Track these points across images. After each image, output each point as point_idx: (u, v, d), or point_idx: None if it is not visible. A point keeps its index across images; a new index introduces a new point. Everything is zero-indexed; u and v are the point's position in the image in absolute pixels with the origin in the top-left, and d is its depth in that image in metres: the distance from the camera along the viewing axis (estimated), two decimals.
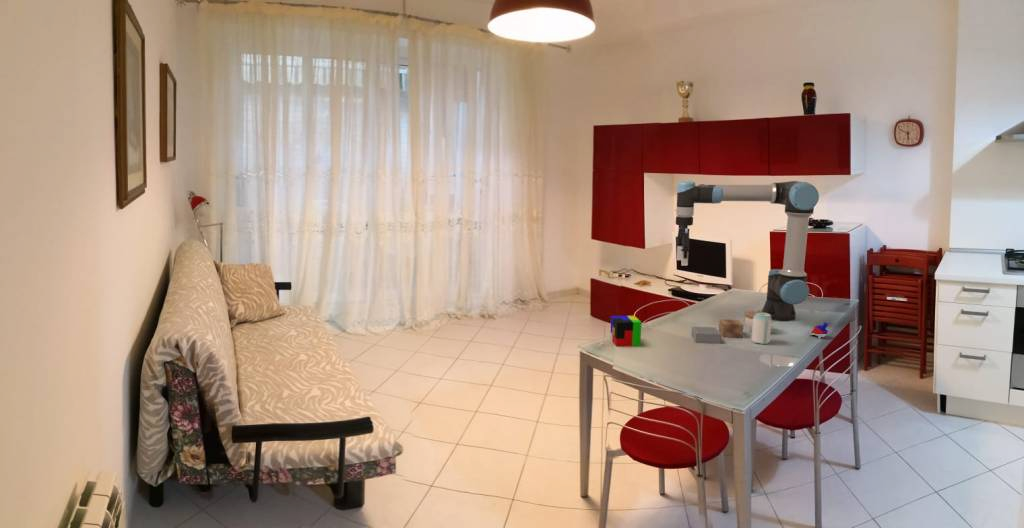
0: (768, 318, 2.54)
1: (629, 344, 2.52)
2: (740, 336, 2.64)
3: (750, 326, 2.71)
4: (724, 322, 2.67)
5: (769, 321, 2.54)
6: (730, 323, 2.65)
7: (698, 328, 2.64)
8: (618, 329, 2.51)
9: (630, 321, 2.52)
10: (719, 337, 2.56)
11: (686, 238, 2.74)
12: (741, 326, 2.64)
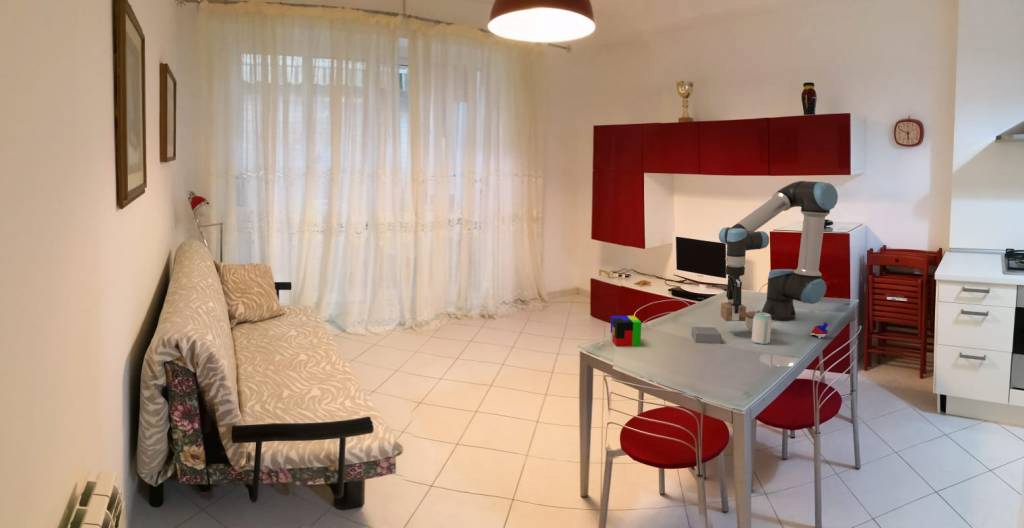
0: (768, 318, 2.54)
1: (629, 344, 2.52)
2: (743, 319, 2.63)
3: (750, 326, 2.71)
4: (726, 305, 2.66)
5: (769, 321, 2.54)
6: None
7: (698, 328, 2.64)
8: (618, 329, 2.51)
9: (630, 321, 2.52)
10: (719, 337, 2.56)
11: (738, 293, 2.58)
12: (744, 309, 2.63)
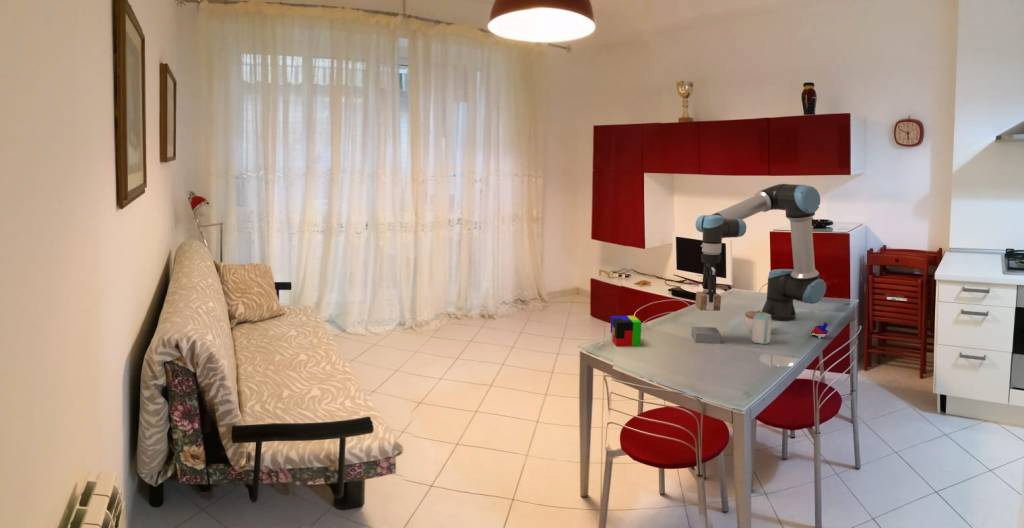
0: (768, 318, 2.54)
1: (629, 344, 2.52)
2: (718, 308, 2.55)
3: (750, 326, 2.71)
4: (701, 294, 2.58)
5: (769, 321, 2.54)
6: None
7: (698, 328, 2.64)
8: (618, 329, 2.51)
9: (630, 321, 2.52)
10: (719, 337, 2.56)
11: (713, 281, 2.50)
12: (719, 298, 2.54)
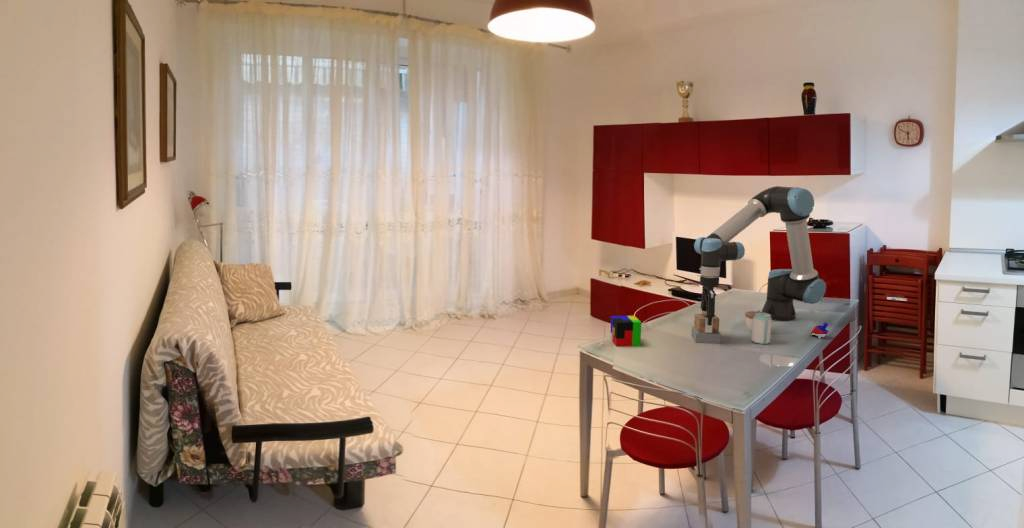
0: (768, 318, 2.54)
1: (629, 344, 2.52)
2: (716, 331, 2.57)
3: (750, 326, 2.71)
4: (699, 316, 2.60)
5: (769, 321, 2.54)
6: None
7: None
8: (618, 329, 2.51)
9: (630, 321, 2.52)
10: (719, 337, 2.56)
11: (711, 304, 2.52)
12: (717, 320, 2.56)
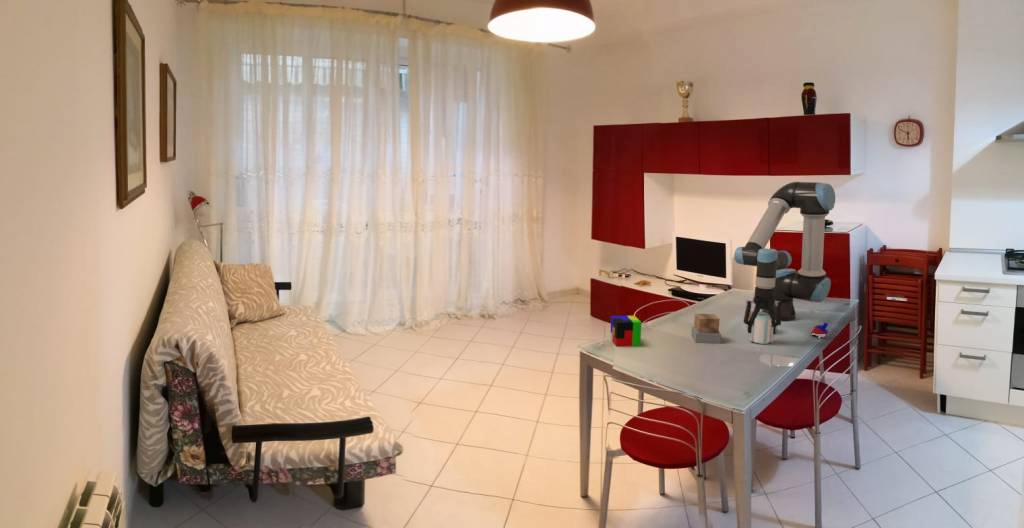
0: (768, 318, 2.54)
1: (629, 344, 2.52)
2: (716, 331, 2.57)
3: None
4: (699, 316, 2.60)
5: (769, 321, 2.54)
6: (706, 317, 2.58)
7: None
8: (618, 329, 2.51)
9: (630, 321, 2.52)
10: (719, 337, 2.56)
11: (746, 311, 2.57)
12: (717, 320, 2.56)
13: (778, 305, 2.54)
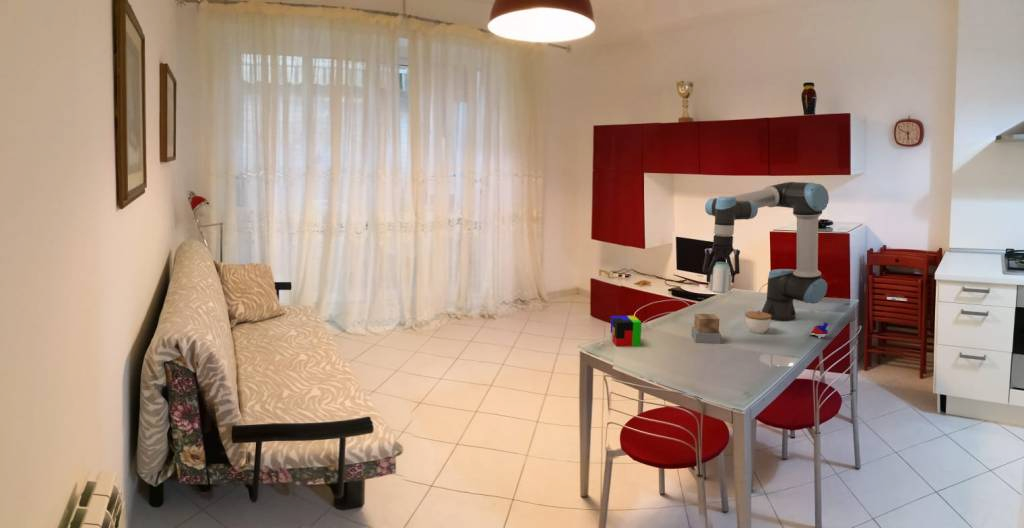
0: (726, 266, 2.53)
1: (629, 344, 2.52)
2: (716, 331, 2.57)
3: (750, 326, 2.71)
4: (699, 316, 2.60)
5: (727, 269, 2.53)
6: (706, 317, 2.58)
7: None
8: (618, 329, 2.51)
9: (630, 321, 2.52)
10: (719, 337, 2.56)
11: (705, 260, 2.56)
12: (717, 320, 2.56)
13: (736, 253, 2.53)
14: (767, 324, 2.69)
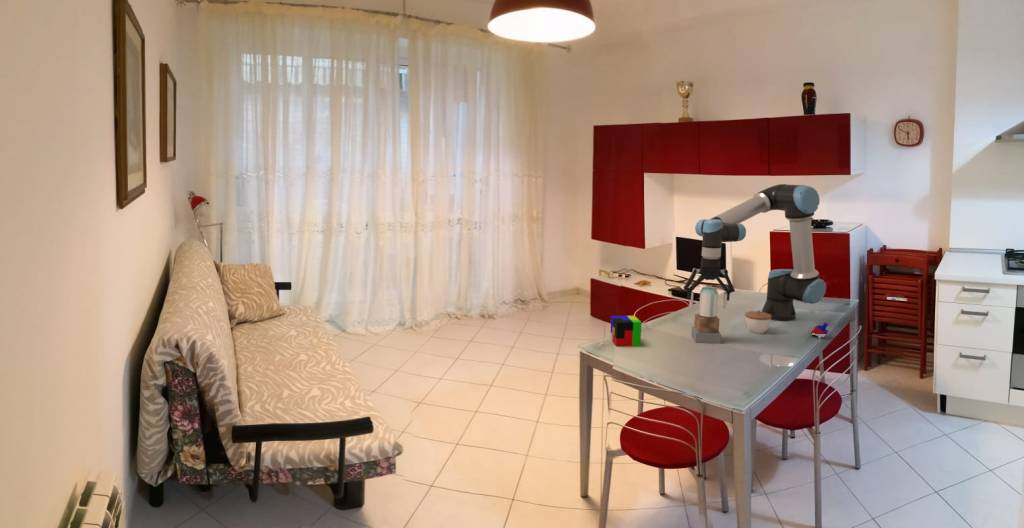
0: (714, 292, 2.55)
1: (629, 344, 2.52)
2: (716, 331, 2.57)
3: (750, 326, 2.71)
4: (699, 316, 2.60)
5: (715, 295, 2.55)
6: None
7: None
8: (618, 329, 2.51)
9: (630, 321, 2.52)
10: (719, 337, 2.56)
11: (689, 278, 2.58)
12: (717, 320, 2.56)
13: (725, 273, 2.55)
14: (767, 324, 2.69)
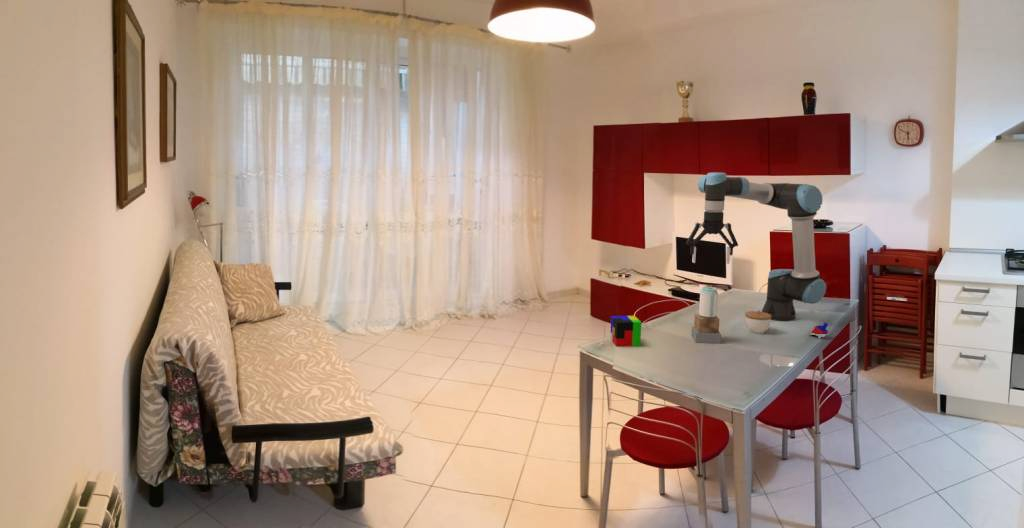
0: (714, 292, 2.55)
1: (629, 344, 2.52)
2: (716, 331, 2.57)
3: (750, 326, 2.71)
4: (699, 316, 2.60)
5: (715, 295, 2.55)
6: None
7: None
8: (618, 329, 2.51)
9: (630, 321, 2.52)
10: (719, 337, 2.56)
11: (692, 232, 2.55)
12: (717, 320, 2.56)
13: (728, 227, 2.52)
14: (767, 324, 2.69)
